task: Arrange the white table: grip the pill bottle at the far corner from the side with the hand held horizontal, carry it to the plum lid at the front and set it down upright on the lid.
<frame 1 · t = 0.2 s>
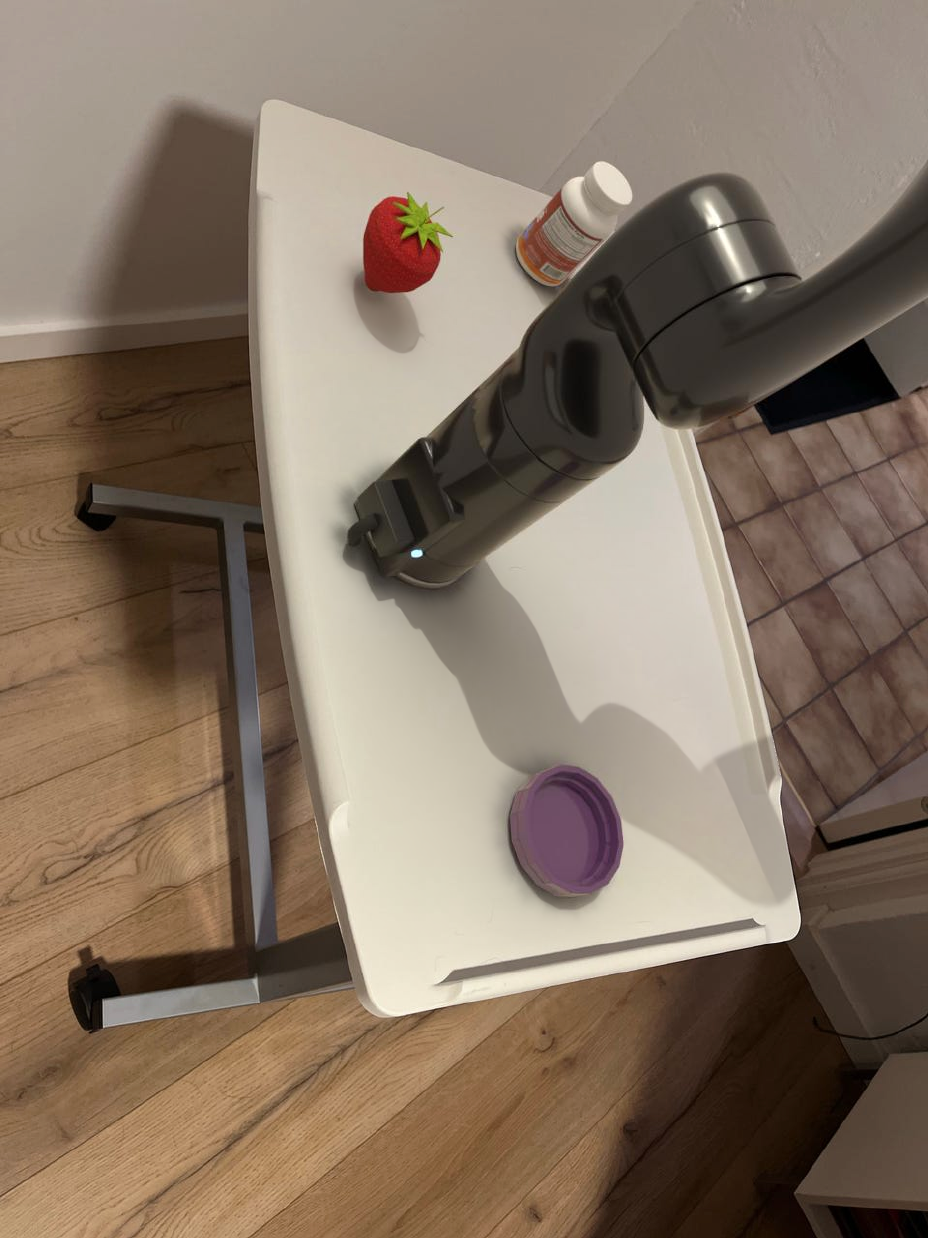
pill bottle: (537, 263, 90), on the table
plum lid: (556, 833, 66), on the table
strawberry: (369, 287, 75), on the table
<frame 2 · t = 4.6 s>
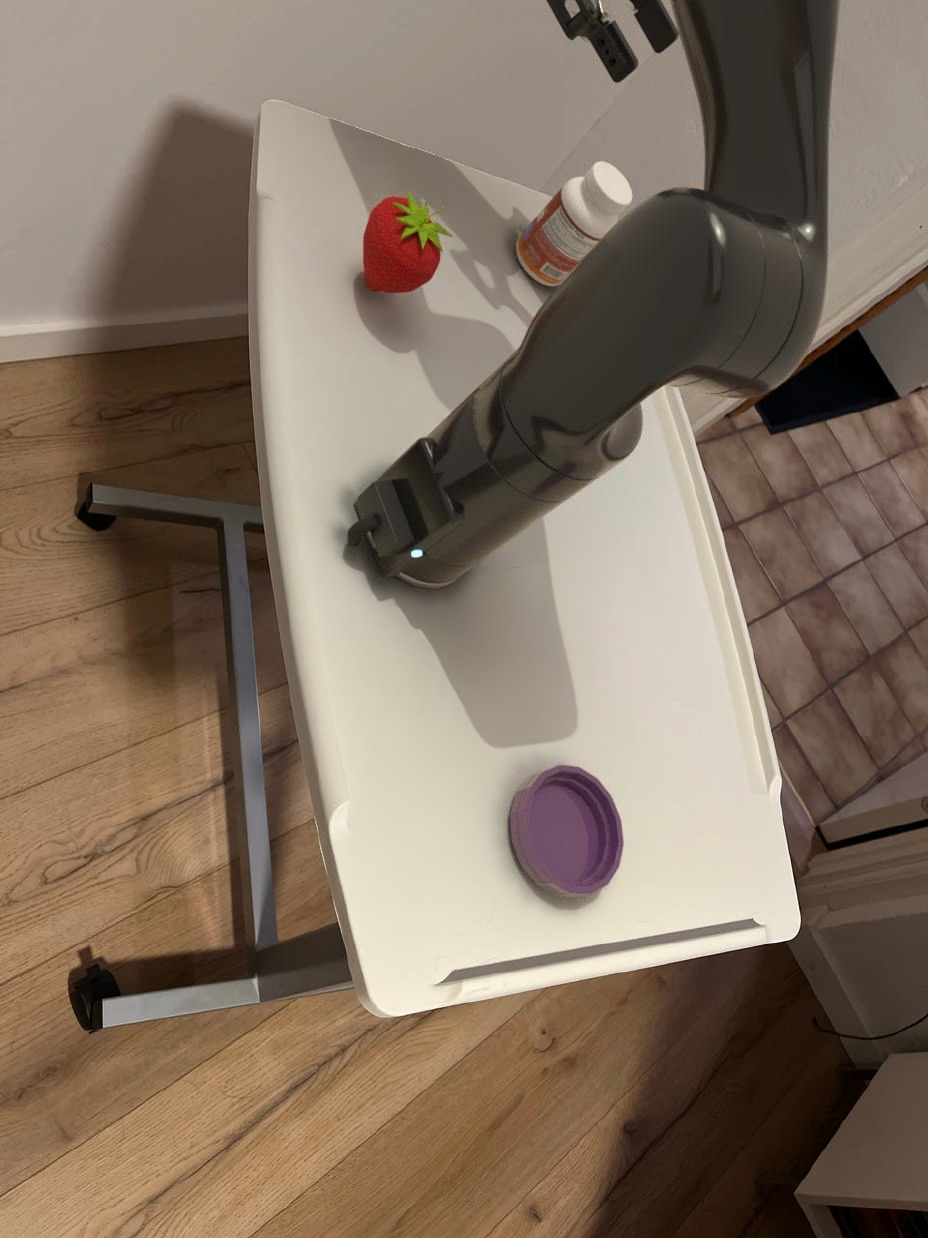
hand: (649, 59, 73), 20 cm above the table, tool horizontal, fingers open, 8 cm apart
nothing on the table moved.
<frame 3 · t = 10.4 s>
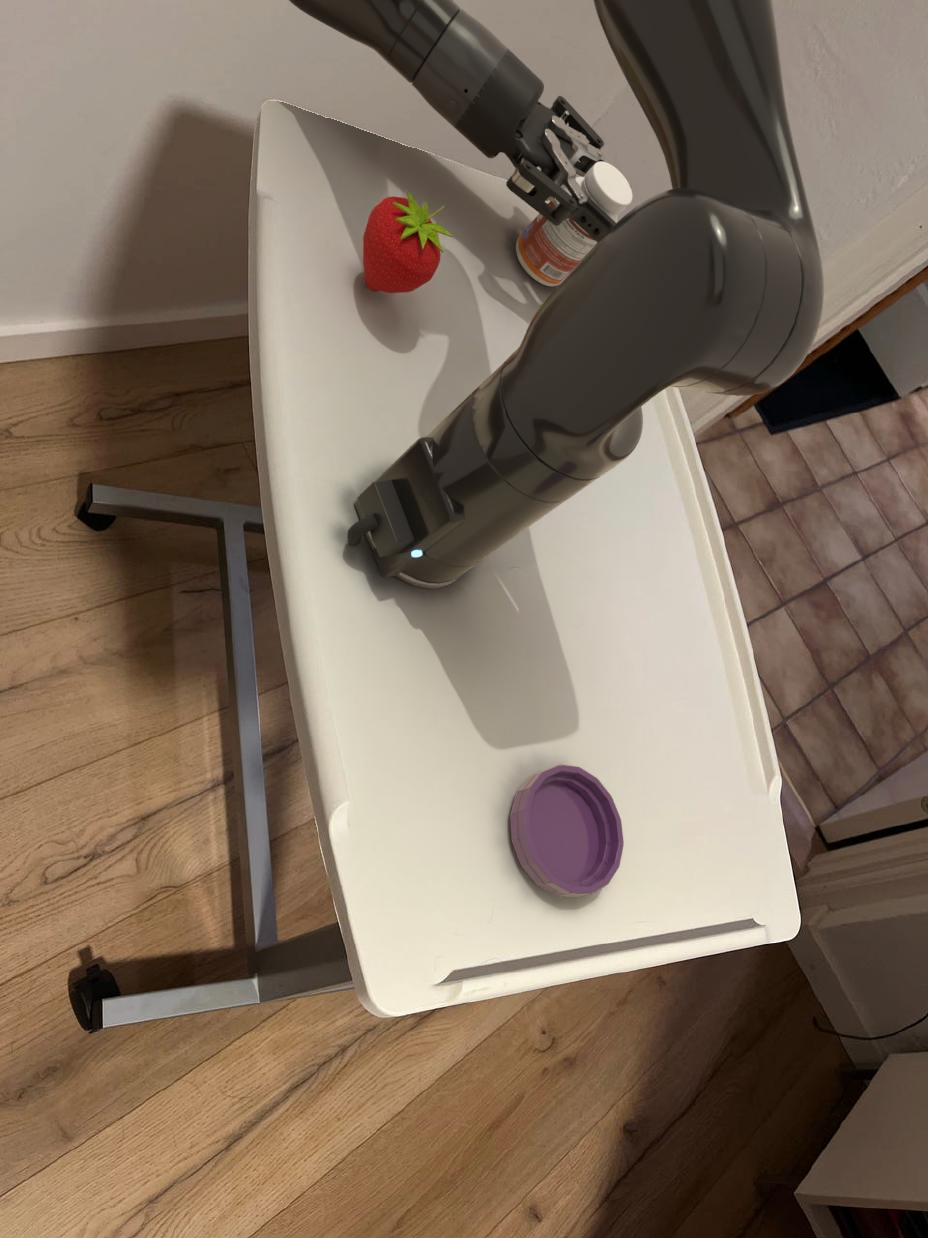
hand: (617, 216, 84), 9 cm above the table, tool horizontal, fingers closed on pill bottle, 6 cm apart
pill bottle: (537, 263, 90), on the table, touching gripper
everything else where it was.
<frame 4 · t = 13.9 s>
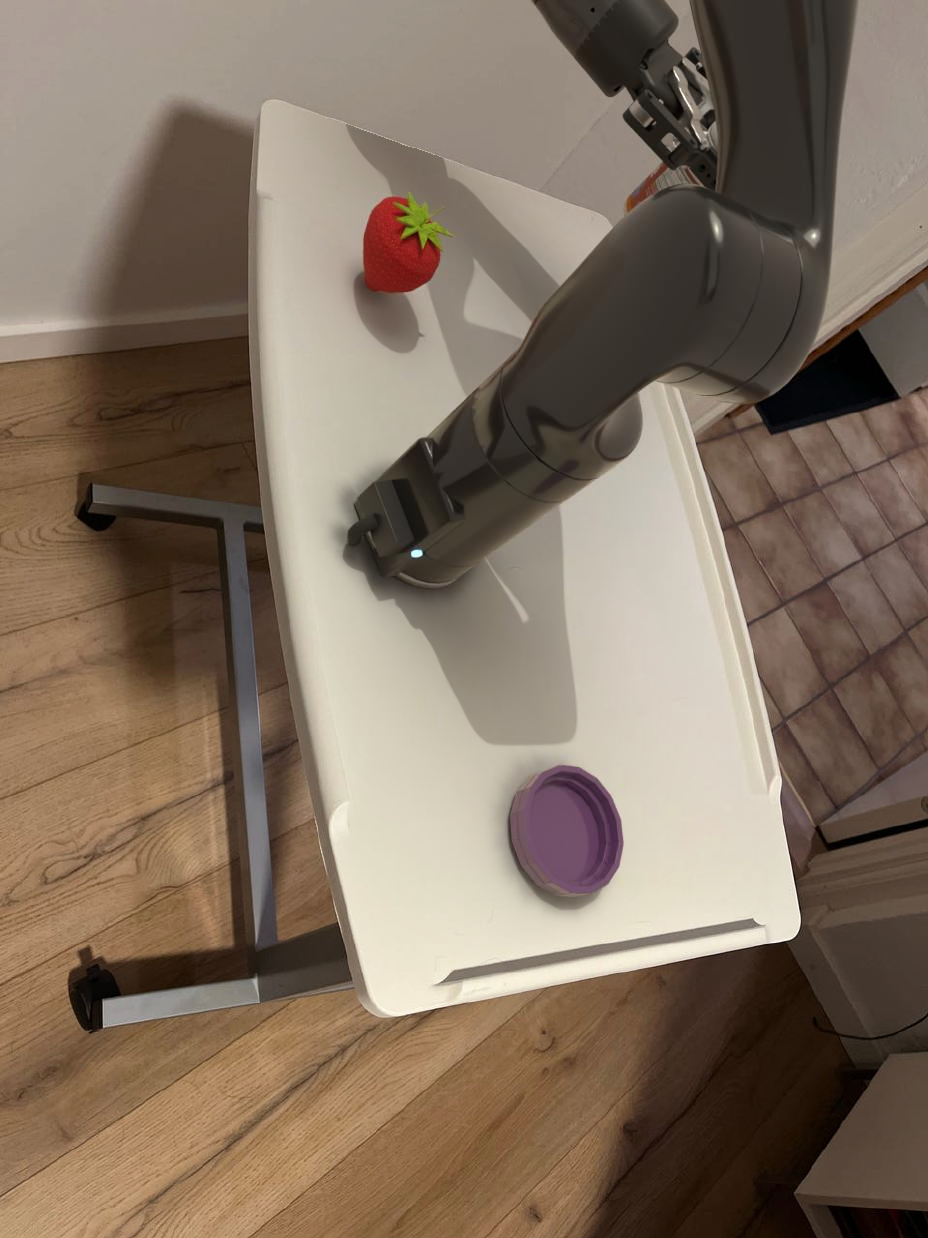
hand: (740, 177, 76), 20 cm above the table, tool horizontal, fingers closed on pill bottle, 6 cm apart
pill bottle: (644, 229, 82), point 11 cm above the table, touching gripper
everything else where it was.
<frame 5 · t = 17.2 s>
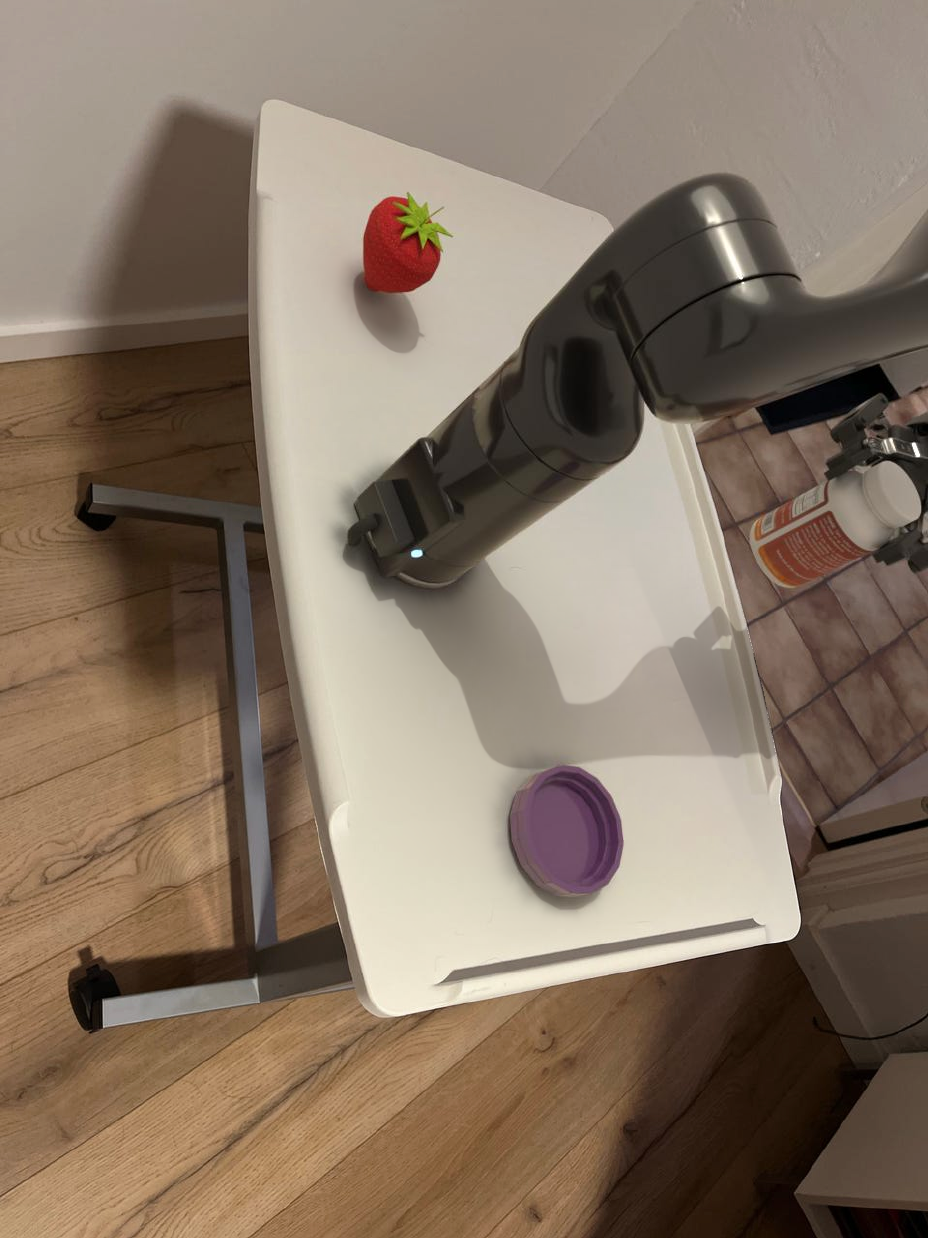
hand: (861, 512, 63), 22 cm above the table, tool horizontal, fingers closed on pill bottle, 6 cm apart
pill bottle: (771, 555, 72), point 12 cm above the table, touching gripper
everything else where it was.
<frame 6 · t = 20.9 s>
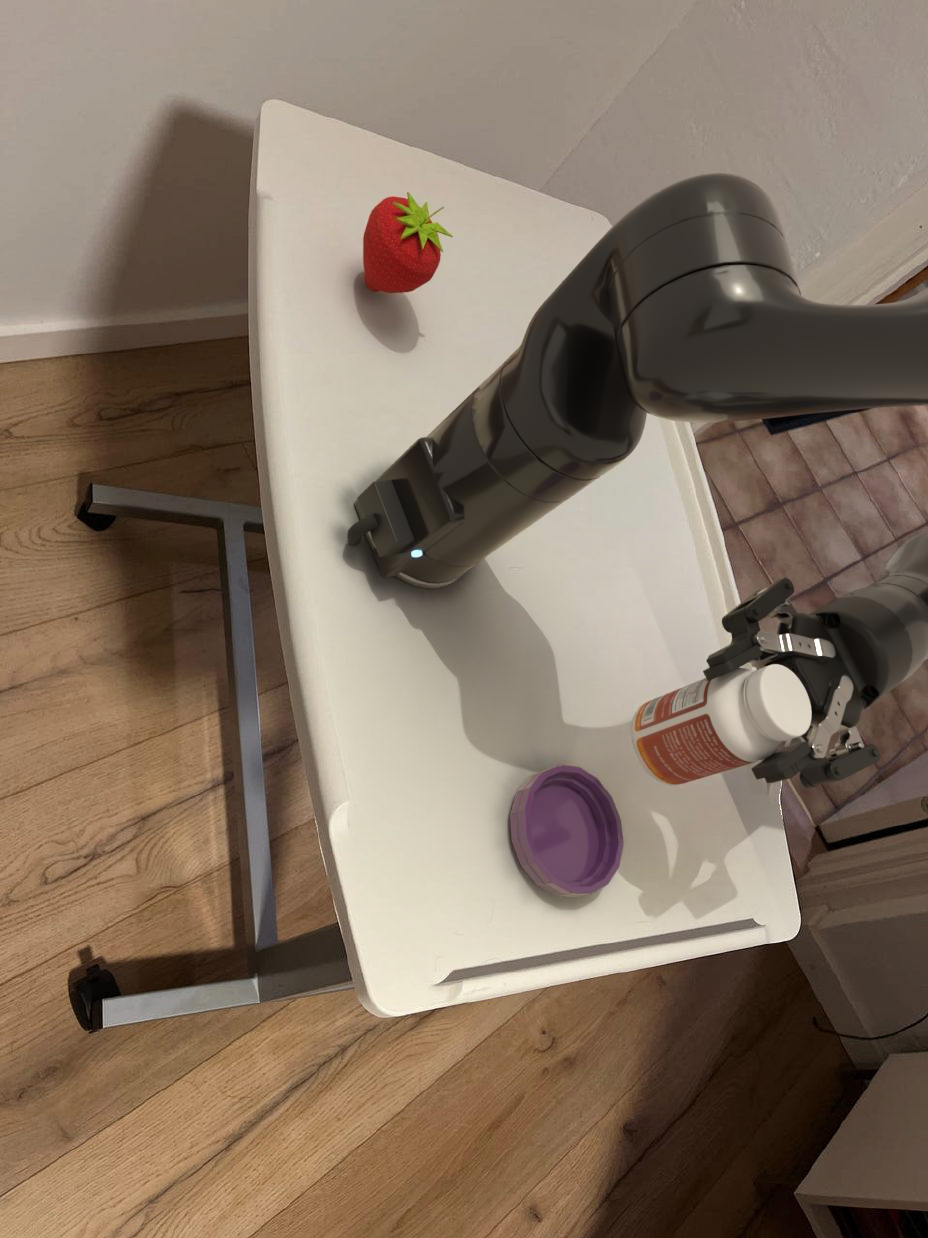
hand: (740, 721, 56), 17 cm above the table, tool horizontal, fingers closed on pill bottle, 6 cm apart
pill bottle: (657, 744, 64), point 7 cm above the table, touching gripper
everything else where it was.
when the fingers open (10 cm above the table, at t = 24.0 s): pill bottle stays where it is, resting on plum lid.
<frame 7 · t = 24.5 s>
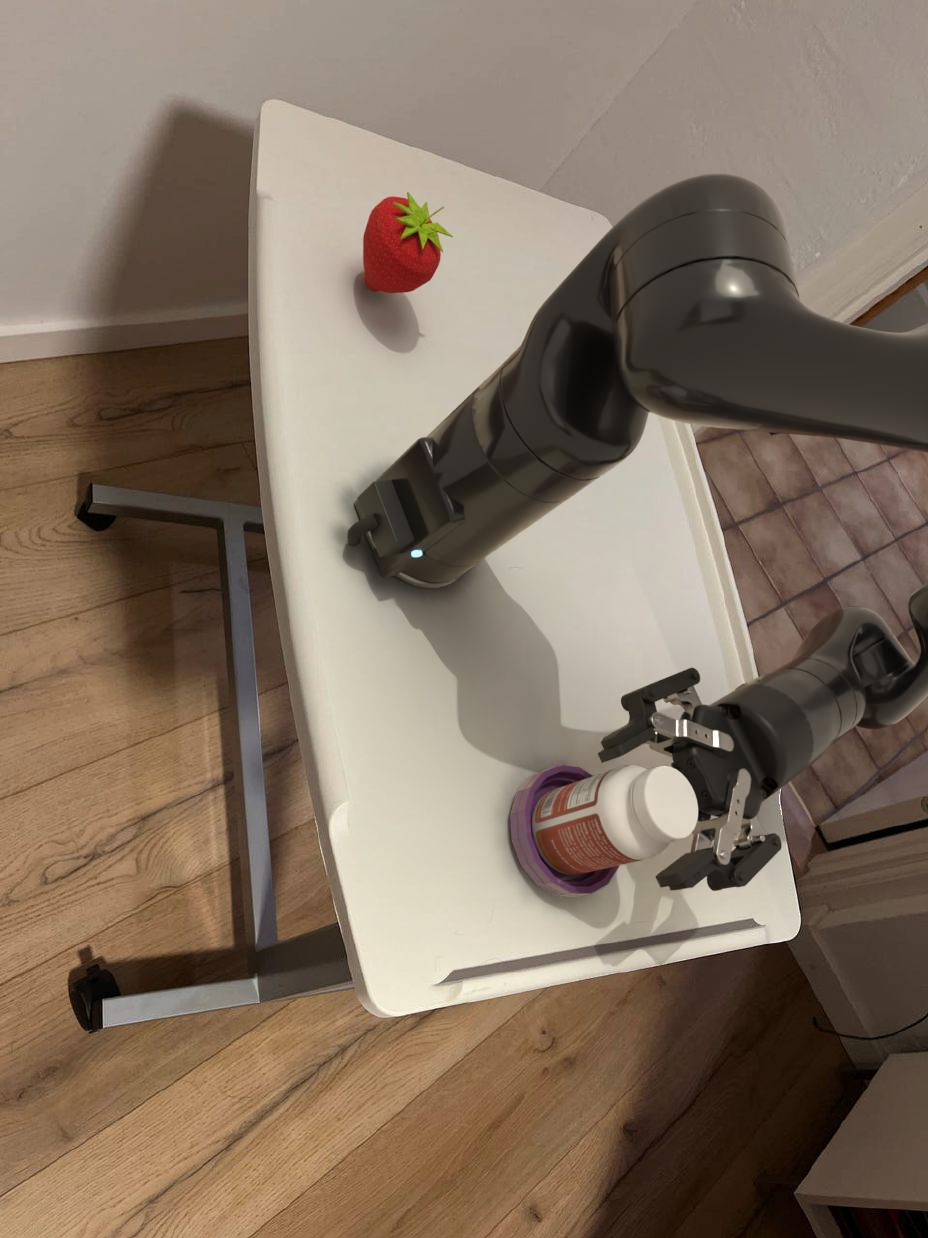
hand: (637, 818, 57), 10 cm above the table, tool horizontal, fingers open, 8 cm apart
pill bottle: (559, 832, 65), resting on plum lid
everything else where it was.
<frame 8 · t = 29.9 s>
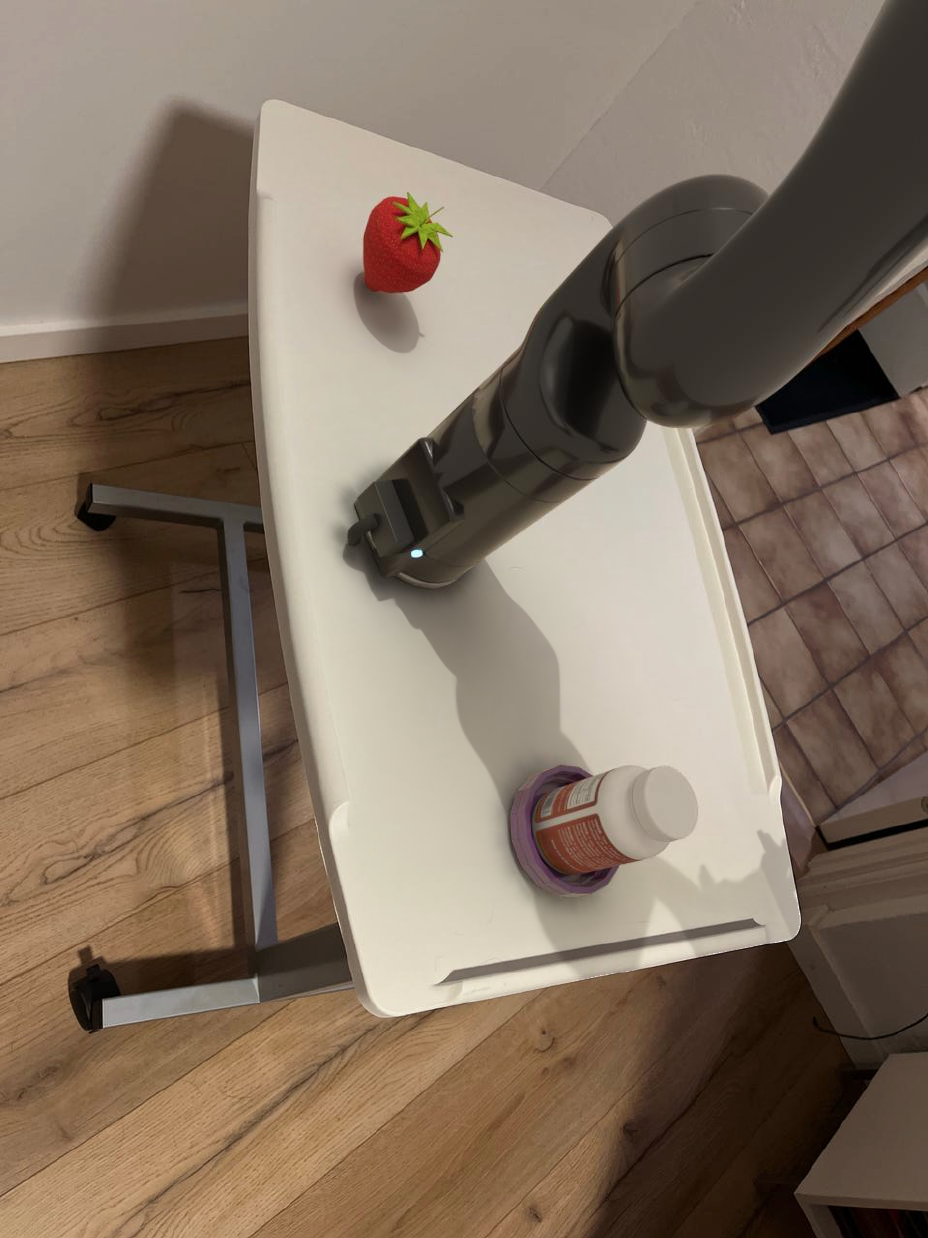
nothing on the table moved.
at the end: pill bottle 0.1 cm off-centre in the plum lid, point 0.3 cm above the plum lid's base; pill bottle tilted 0° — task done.
